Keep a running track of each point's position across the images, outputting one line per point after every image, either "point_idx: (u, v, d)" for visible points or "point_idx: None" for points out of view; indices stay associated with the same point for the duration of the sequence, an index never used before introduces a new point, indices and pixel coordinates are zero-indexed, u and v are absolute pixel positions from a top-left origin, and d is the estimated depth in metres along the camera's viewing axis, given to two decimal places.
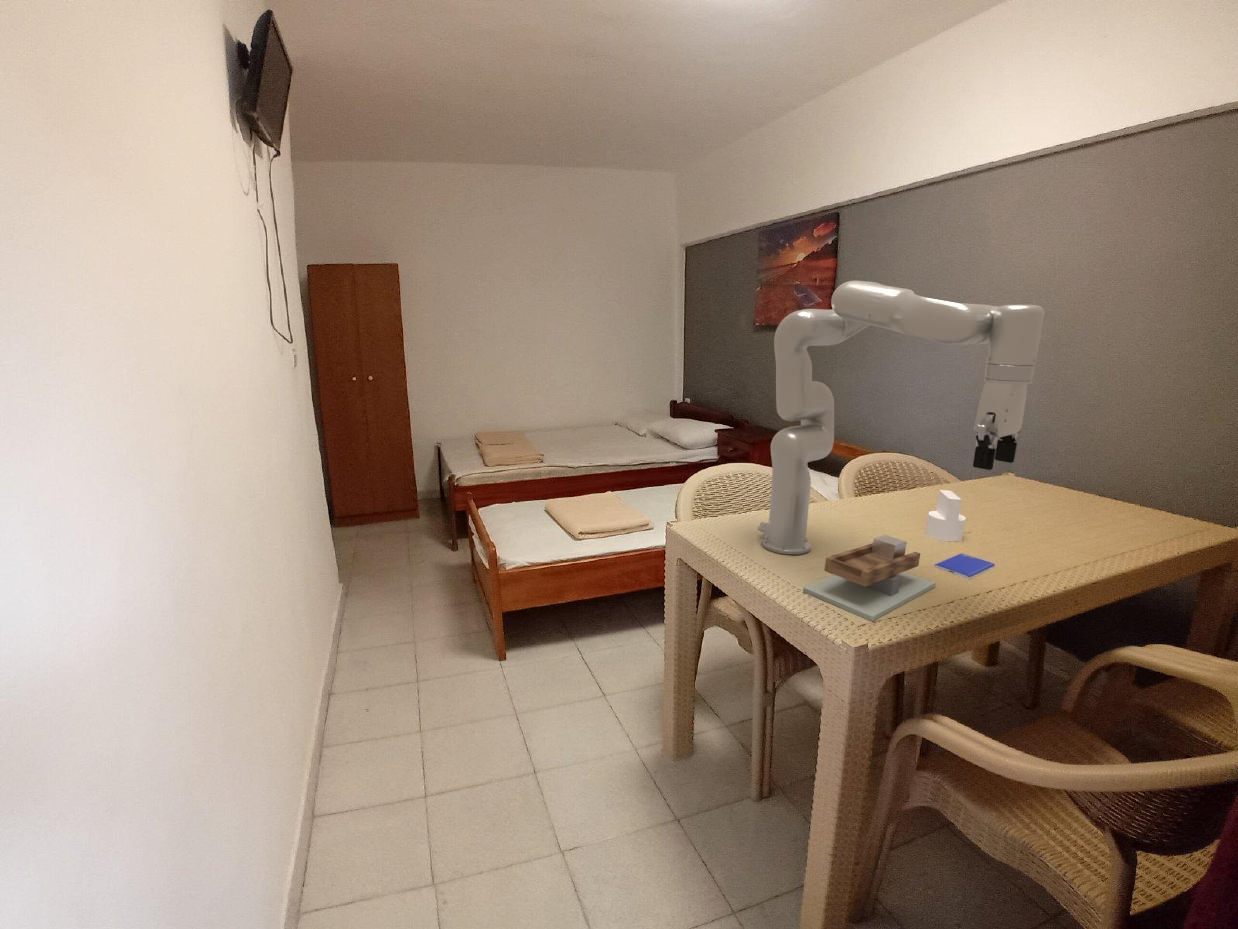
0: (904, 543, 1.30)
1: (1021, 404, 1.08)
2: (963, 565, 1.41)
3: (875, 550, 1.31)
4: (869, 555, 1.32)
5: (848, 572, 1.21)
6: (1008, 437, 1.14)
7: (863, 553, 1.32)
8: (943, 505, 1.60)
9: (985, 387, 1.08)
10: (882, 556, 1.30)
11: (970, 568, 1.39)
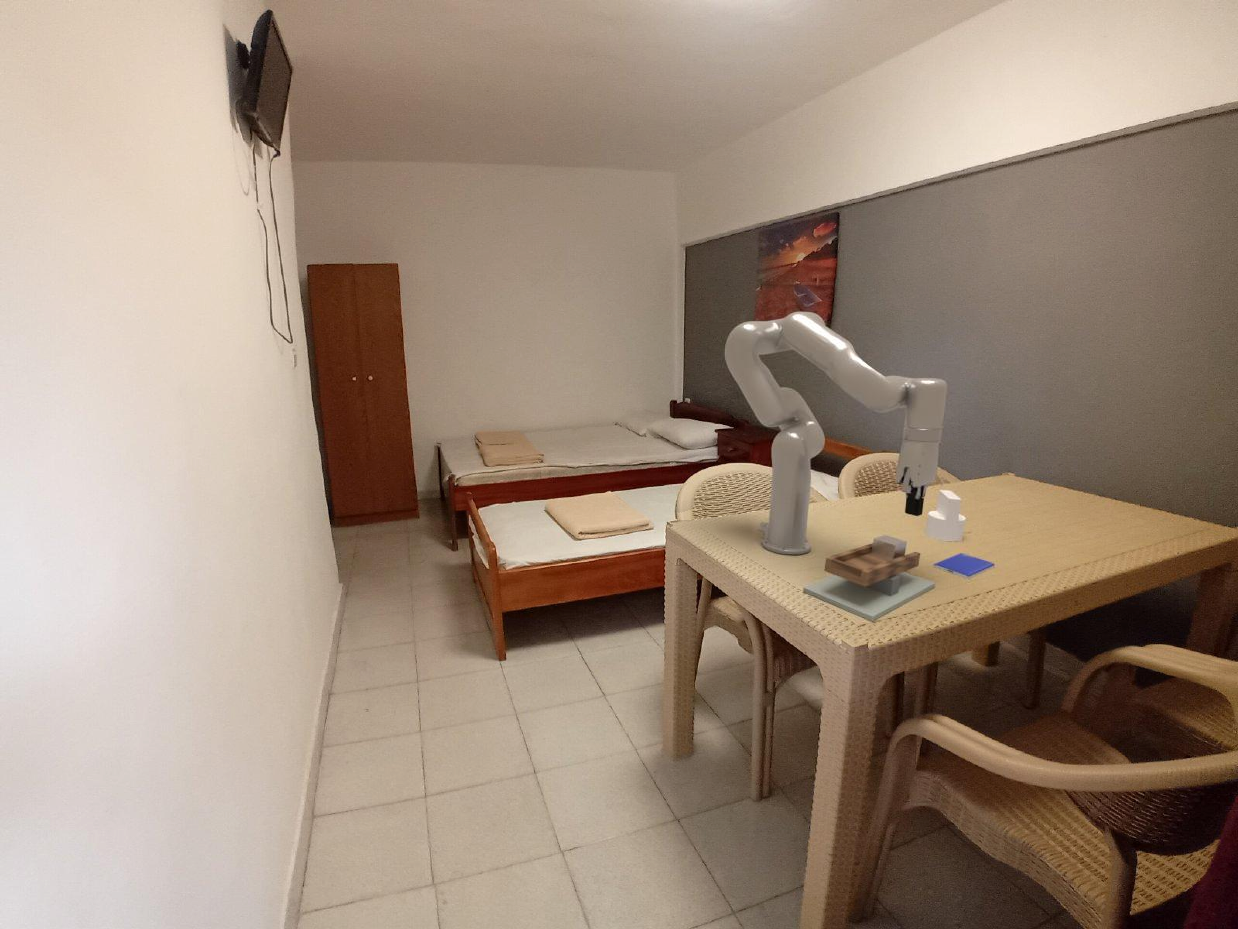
0: (904, 543, 1.30)
1: (933, 459, 1.30)
2: (962, 565, 1.41)
3: (875, 550, 1.32)
4: (869, 555, 1.32)
5: (848, 572, 1.21)
6: None
7: (863, 553, 1.32)
8: (943, 505, 1.60)
9: (902, 446, 1.30)
10: (882, 556, 1.30)
11: (970, 568, 1.40)
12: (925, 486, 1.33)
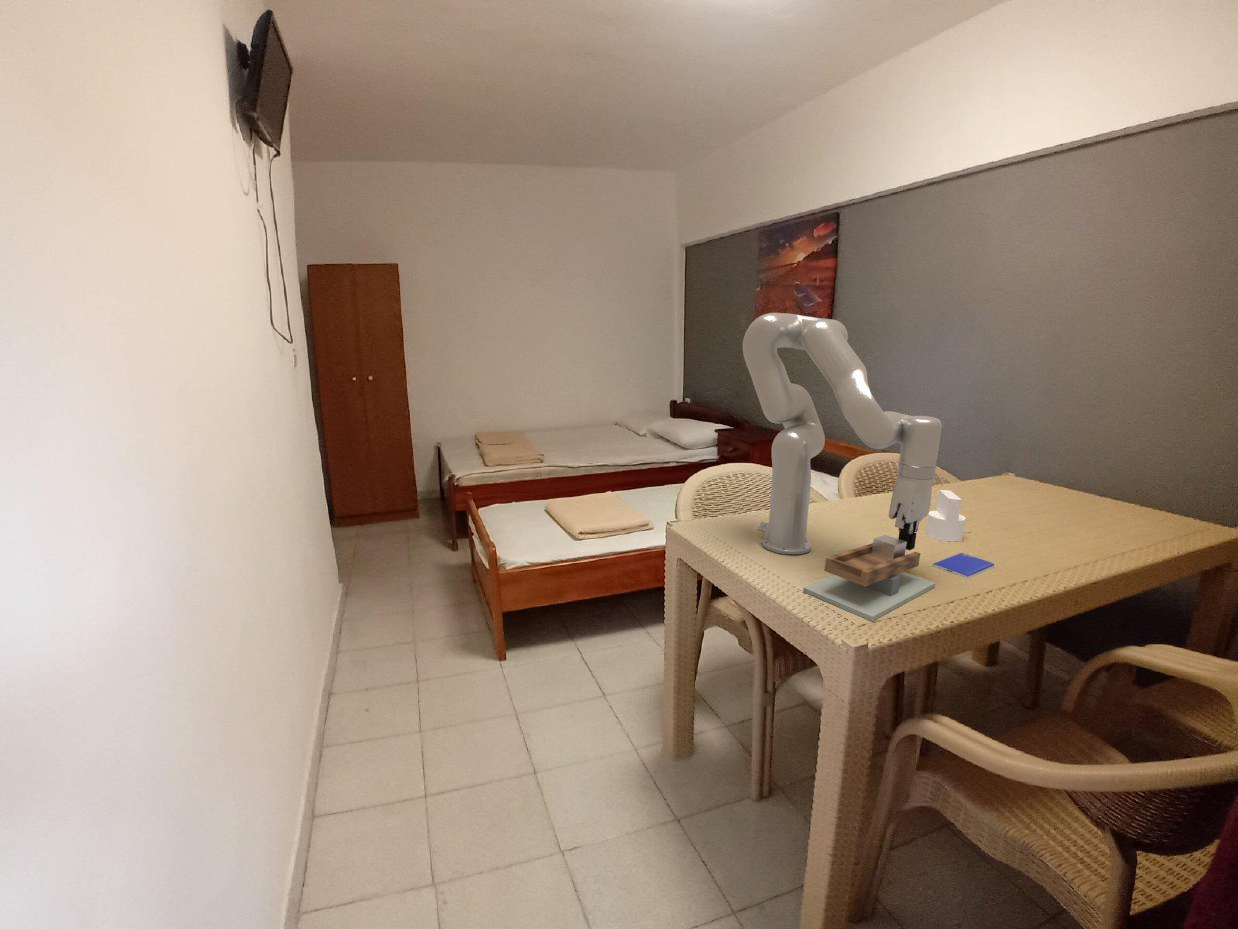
0: (904, 543, 1.30)
1: (926, 495, 1.32)
2: (962, 565, 1.41)
3: (875, 550, 1.32)
4: (869, 555, 1.32)
5: (848, 572, 1.21)
6: None
7: (863, 553, 1.32)
8: (943, 505, 1.60)
9: (896, 482, 1.32)
10: (882, 556, 1.30)
11: (969, 568, 1.40)
12: (918, 521, 1.35)
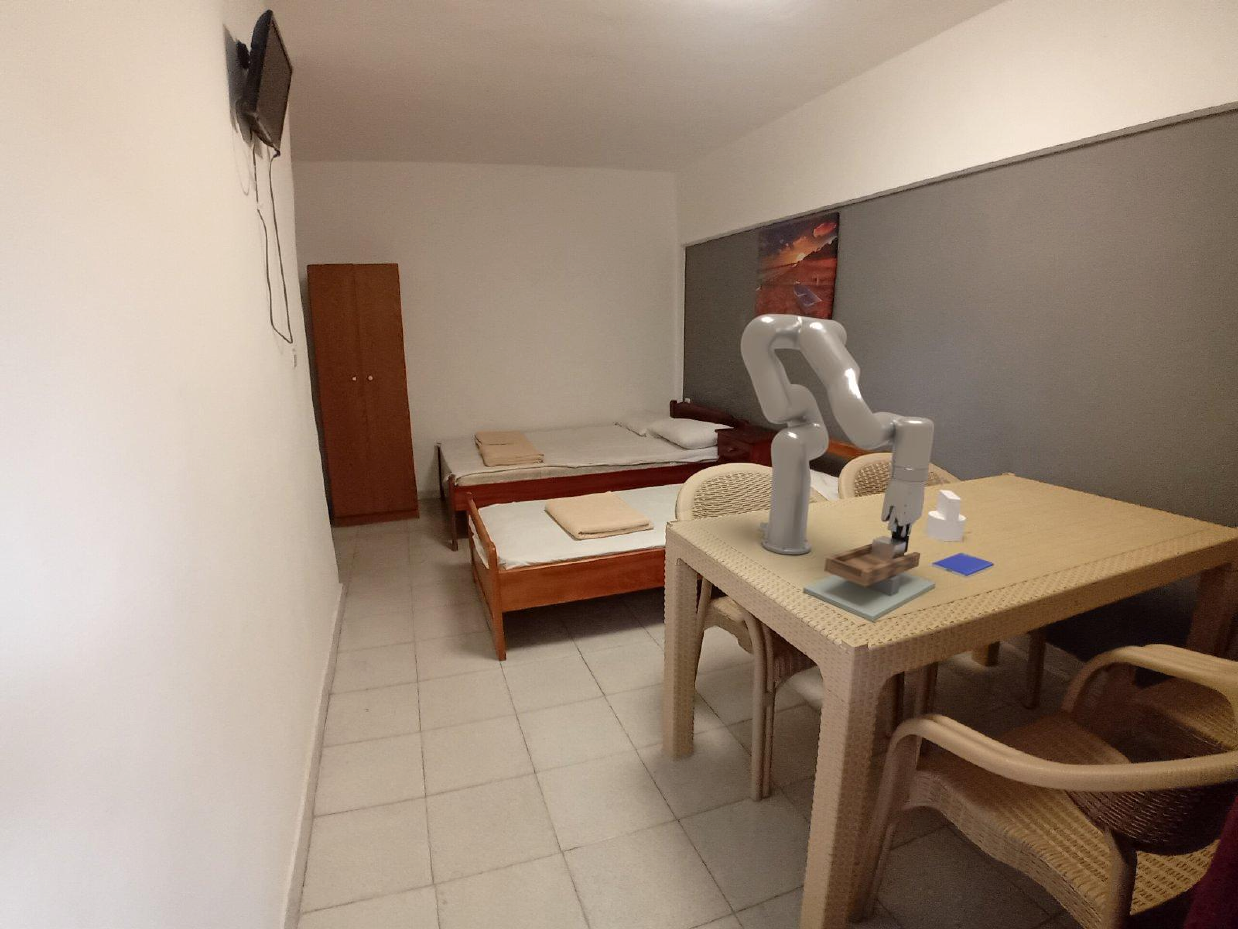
0: (903, 544, 1.30)
1: (919, 498, 1.30)
2: (961, 564, 1.42)
3: (874, 551, 1.31)
4: (869, 555, 1.32)
5: (848, 572, 1.21)
6: None
7: (863, 553, 1.32)
8: (943, 505, 1.60)
9: (889, 484, 1.29)
10: (881, 557, 1.30)
11: (968, 567, 1.40)
12: (911, 524, 1.33)
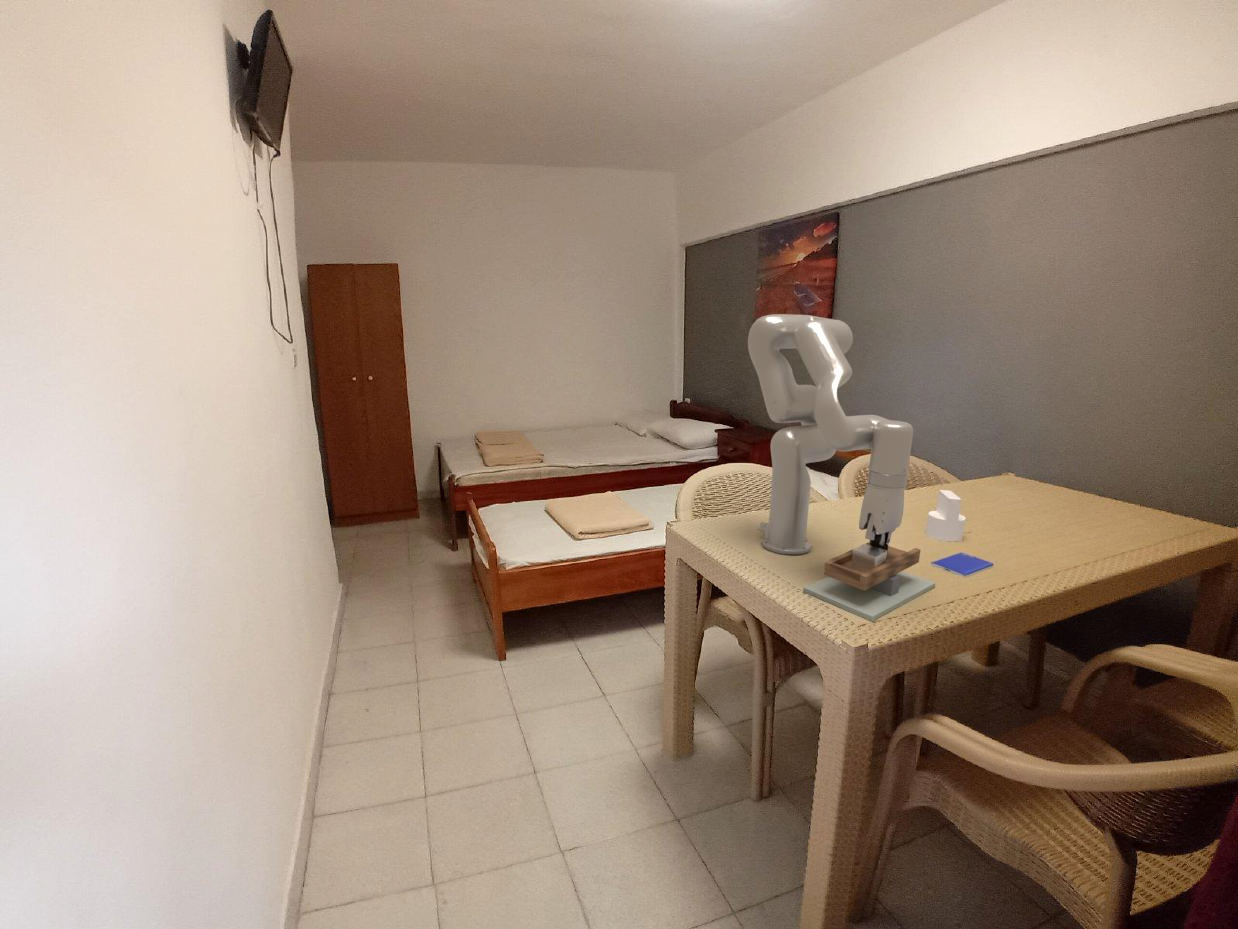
0: (884, 552, 1.24)
1: (898, 505, 1.25)
2: (960, 564, 1.42)
3: (855, 562, 1.25)
4: None
5: (847, 577, 1.21)
6: None
7: None
8: (943, 505, 1.60)
9: (866, 491, 1.24)
10: (862, 568, 1.24)
11: (967, 567, 1.40)
12: (890, 532, 1.27)
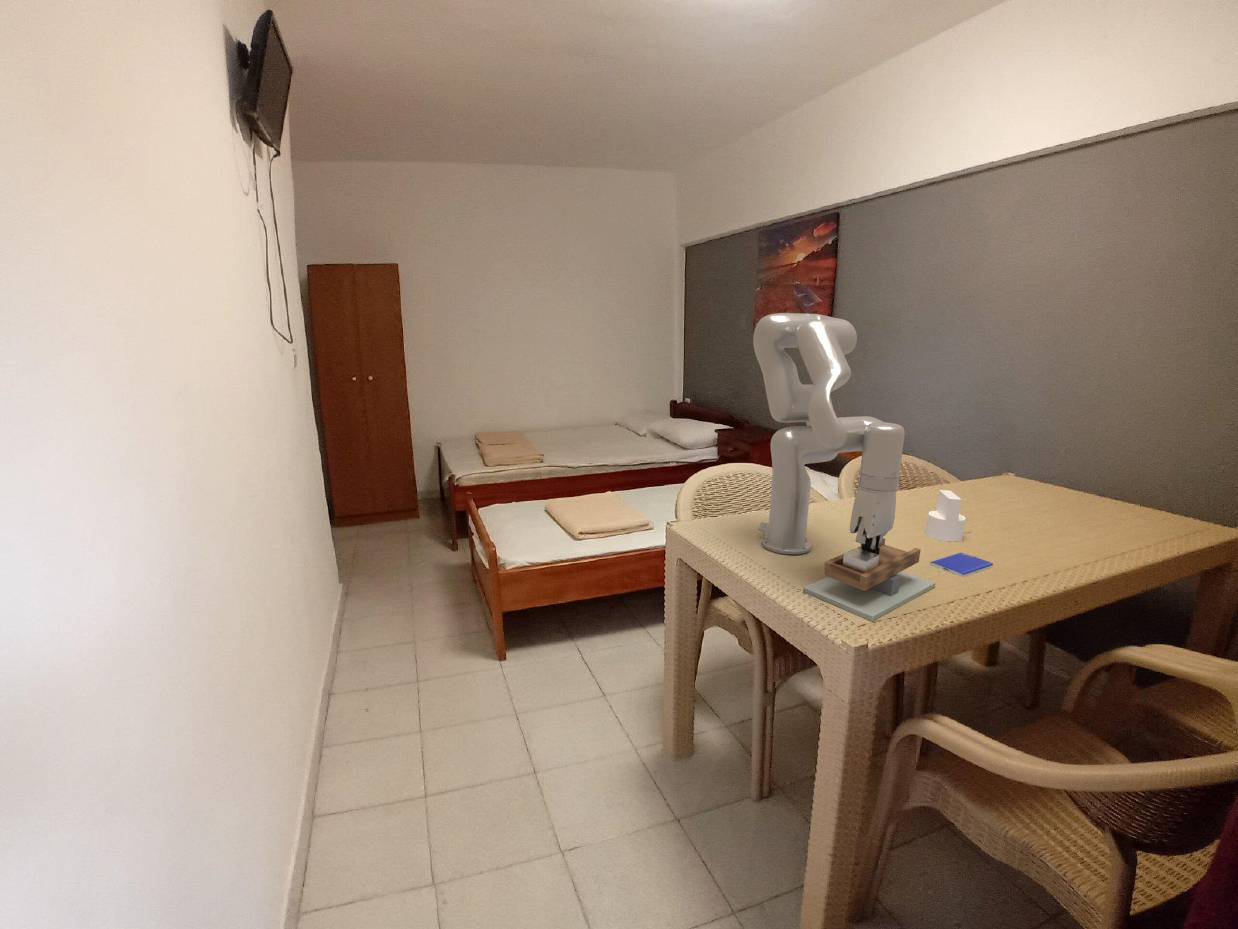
0: (876, 557, 1.22)
1: (889, 508, 1.23)
2: (959, 563, 1.42)
3: (846, 566, 1.23)
4: None
5: (847, 577, 1.21)
6: None
7: None
8: (943, 505, 1.60)
9: (857, 494, 1.22)
10: None
11: (966, 566, 1.40)
12: (881, 535, 1.25)
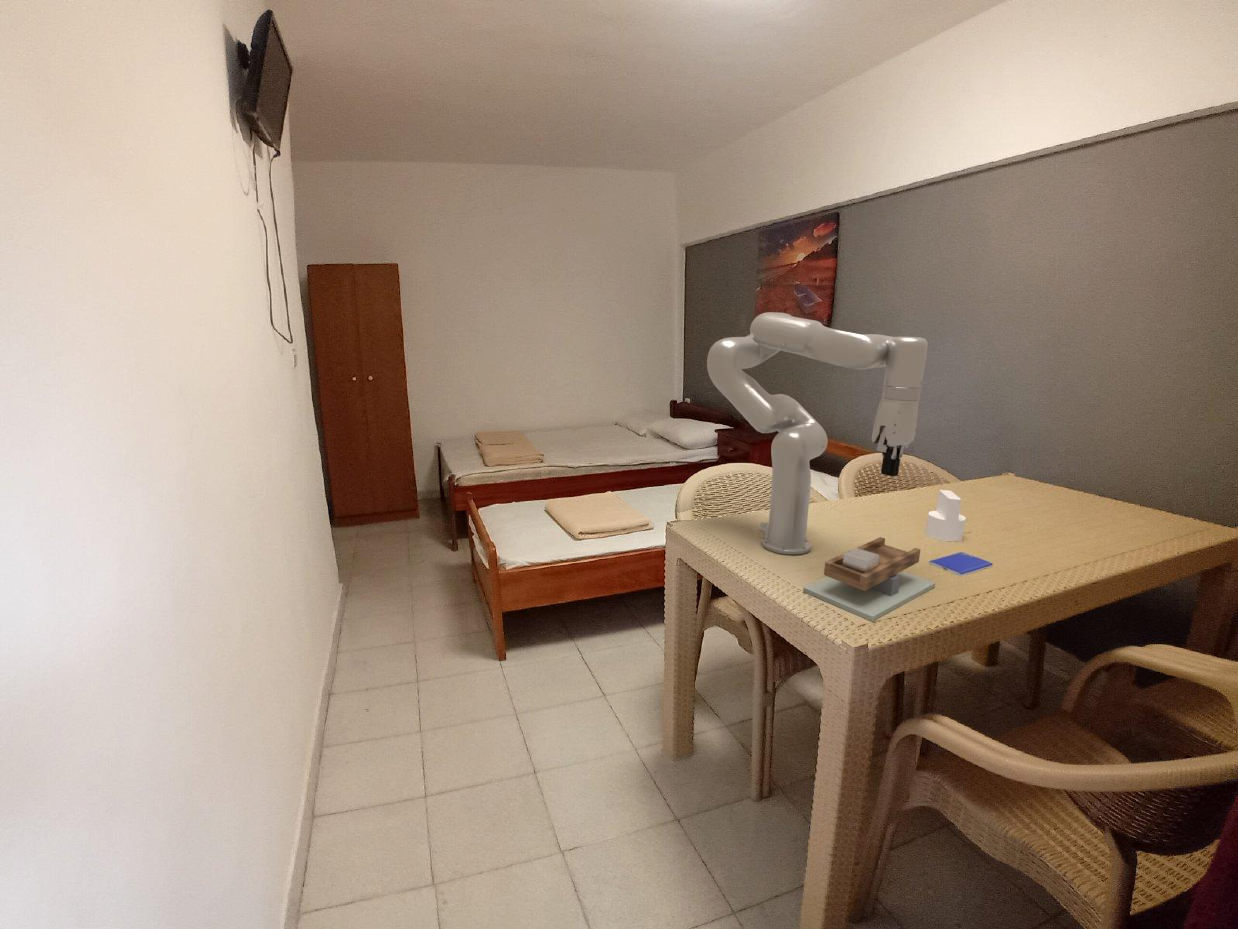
0: (876, 557, 1.22)
1: (911, 419, 1.29)
2: (958, 563, 1.42)
3: (846, 566, 1.23)
4: None
5: (847, 577, 1.21)
6: None
7: None
8: (943, 505, 1.60)
9: (880, 404, 1.29)
10: None
11: (965, 566, 1.41)
12: (902, 447, 1.32)
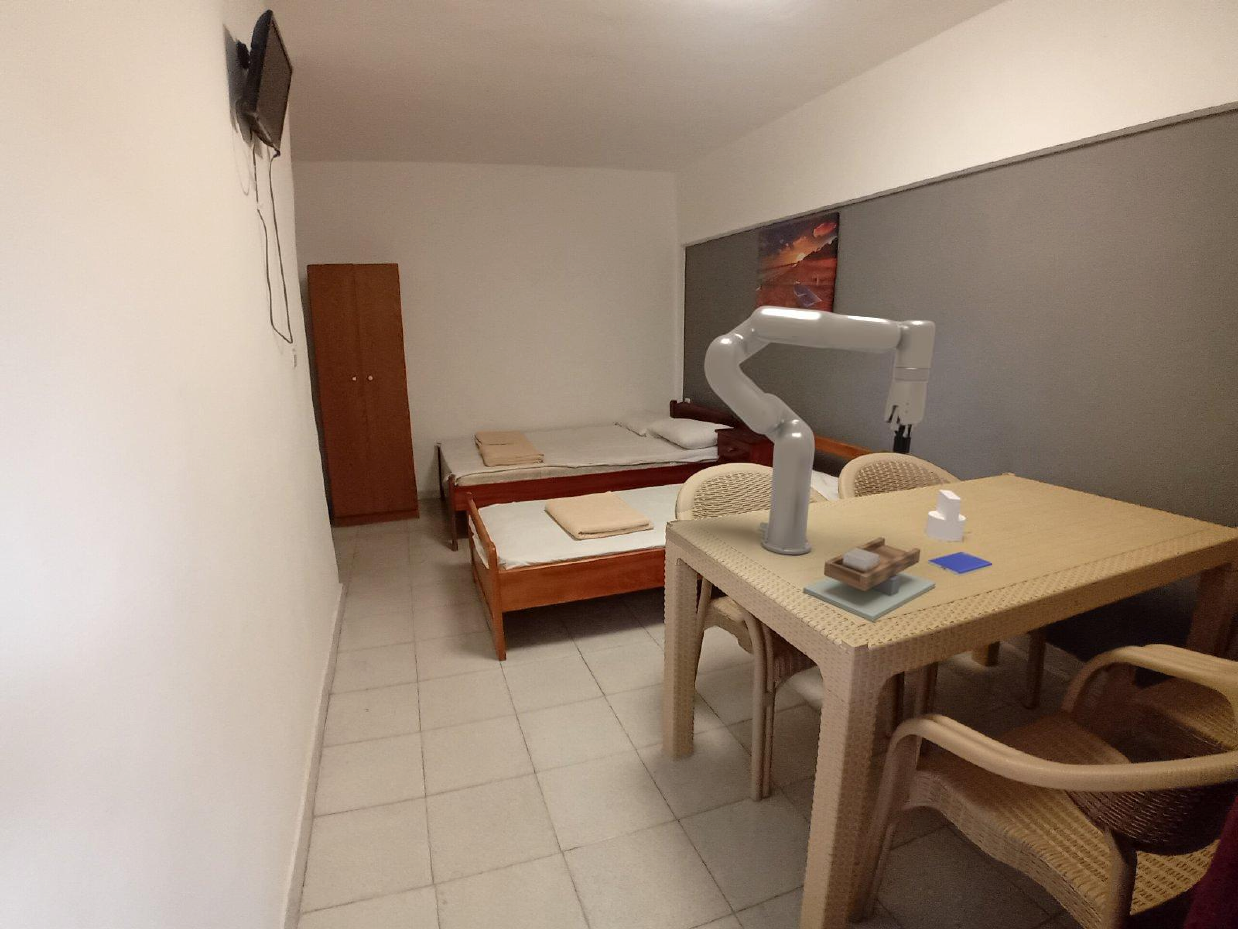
0: (876, 557, 1.22)
1: (921, 399, 1.36)
2: (958, 562, 1.43)
3: (846, 566, 1.23)
4: None
5: (847, 577, 1.21)
6: None
7: None
8: (943, 505, 1.60)
9: (892, 385, 1.36)
10: None
11: (964, 565, 1.41)
12: (912, 425, 1.39)
